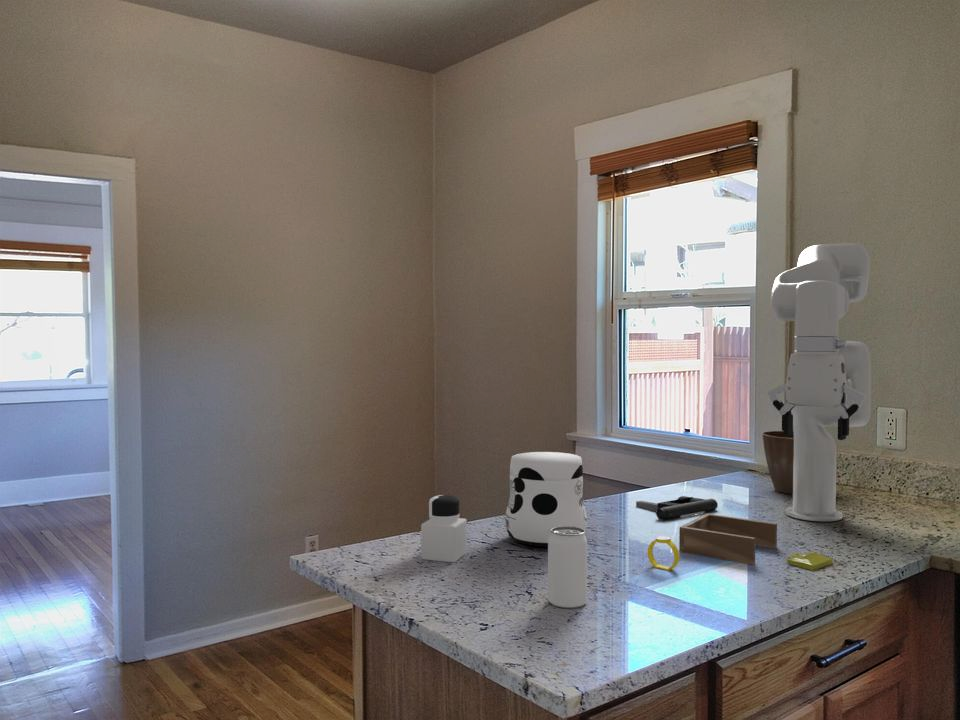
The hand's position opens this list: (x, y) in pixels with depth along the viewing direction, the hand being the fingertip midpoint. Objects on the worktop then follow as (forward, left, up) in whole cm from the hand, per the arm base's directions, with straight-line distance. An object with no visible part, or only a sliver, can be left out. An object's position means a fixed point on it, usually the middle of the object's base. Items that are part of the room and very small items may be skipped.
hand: (814, 437), depth 148 cm
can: (+44, -28, -25) cm, 58 cm away
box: (-3, -17, -25) cm, 30 cm away
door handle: (-28, -41, -26) cm, 56 cm away
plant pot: (-71, -24, -25) cm, 79 cm away
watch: (+17, -23, -25) cm, 38 cm away
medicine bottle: (+36, -61, -25) cm, 75 cm away
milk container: (+14, -51, -25) cm, 58 cm away
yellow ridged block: (-3, -2, -26) cm, 26 cm away
